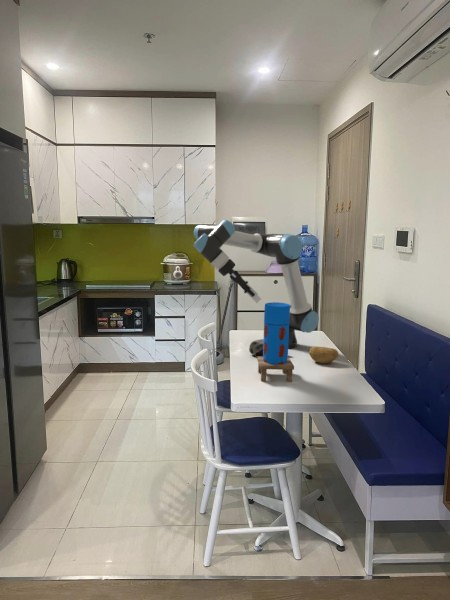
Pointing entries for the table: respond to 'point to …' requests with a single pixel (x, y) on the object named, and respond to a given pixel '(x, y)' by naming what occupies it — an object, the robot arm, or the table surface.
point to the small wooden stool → (285, 368)
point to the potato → (323, 354)
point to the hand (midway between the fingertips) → (257, 298)
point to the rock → (256, 347)
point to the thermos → (276, 333)
